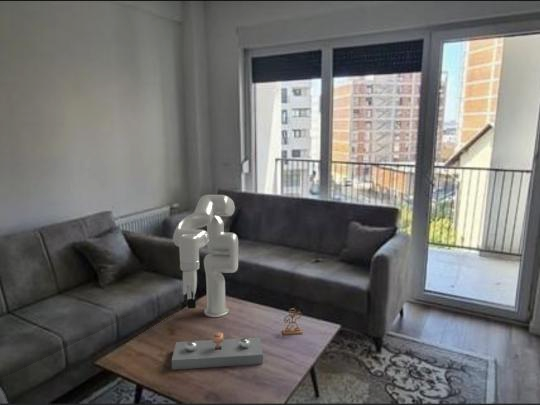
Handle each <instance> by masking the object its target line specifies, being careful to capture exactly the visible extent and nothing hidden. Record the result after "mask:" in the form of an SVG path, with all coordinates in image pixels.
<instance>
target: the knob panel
mask: <svg viewBox="0 0 540 405" xmlns="http://www.w3.org/2000/svg"><path fill="white" fill-rule="evenodd" d="M241 338H242V337H240V338H239V337H238V338H225V339H224V338H223V342H221V343H220V348H219V349H217V348H216V343H214V342H213V339H207V340H203V339H202V340H194V341H195V342H196V344H197V349H196V350H195V351H193V352H188V351H186V343H187V342H188V341H189V340H188V341H176V342H175V346H174V350H173V353H172V357H171V370H187V369H201V368H216V367H231V366H232V367H233V366H248V365H249V366H251V365H263V364H264V357H263V355H264V353H263V349H262V348H263V347H262V342H261V337H259V336H258V337H247V338H248V339H250V347H249V348H246V349H243V348H240V347H239V340H240V339H241Z"/></svg>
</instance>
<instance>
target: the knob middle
mask: <svg viewBox="0 0 540 405" xmlns="http://www.w3.org/2000/svg"><path fill="white" fill-rule="evenodd" d="M211 339H212V340H213V342H214V343H216V348H217V349H219V348H220V343H221V342H223V339H224V333H223V332H219V331H218V332H215V333H213V334H212V337H211Z"/></svg>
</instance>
